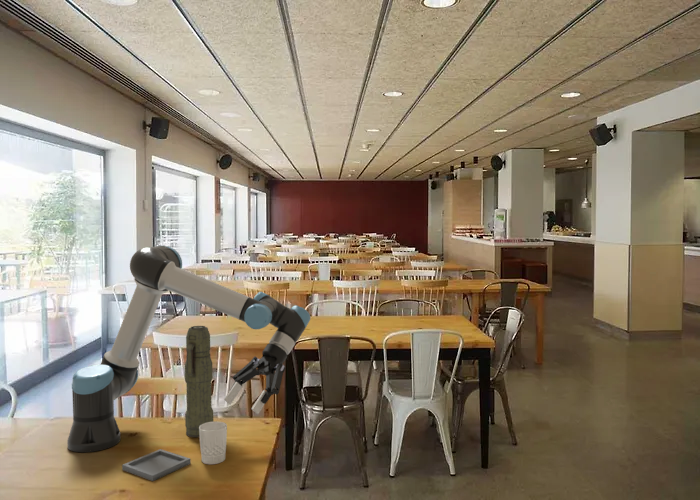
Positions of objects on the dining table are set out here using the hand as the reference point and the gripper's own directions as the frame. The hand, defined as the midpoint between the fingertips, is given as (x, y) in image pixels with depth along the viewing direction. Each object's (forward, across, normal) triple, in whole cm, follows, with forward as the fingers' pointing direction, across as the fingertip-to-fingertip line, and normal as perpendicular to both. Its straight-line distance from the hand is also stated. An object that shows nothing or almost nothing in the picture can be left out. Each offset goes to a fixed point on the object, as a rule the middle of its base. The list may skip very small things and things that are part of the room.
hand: (240, 406), depth 170 cm
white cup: (+16, 0, -3) cm, 17 cm away
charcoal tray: (+26, +8, +7) cm, 28 cm away
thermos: (+10, +22, -10) cm, 26 cm away
